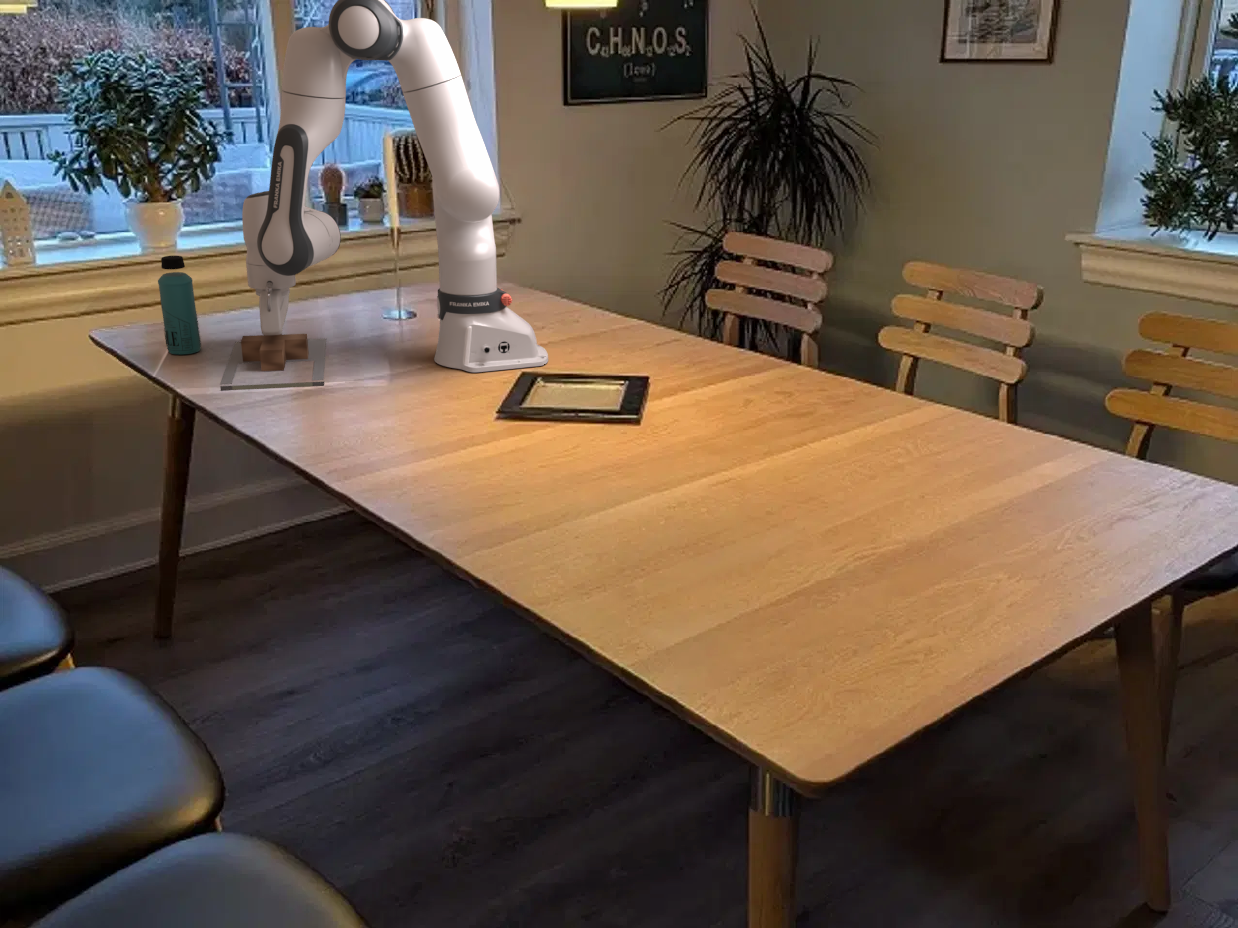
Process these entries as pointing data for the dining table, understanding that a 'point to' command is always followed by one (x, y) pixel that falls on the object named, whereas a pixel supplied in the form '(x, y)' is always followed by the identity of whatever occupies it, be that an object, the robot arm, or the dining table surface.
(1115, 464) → the dining table surface
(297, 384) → the board
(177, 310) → the beverage bottle
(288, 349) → the t block
